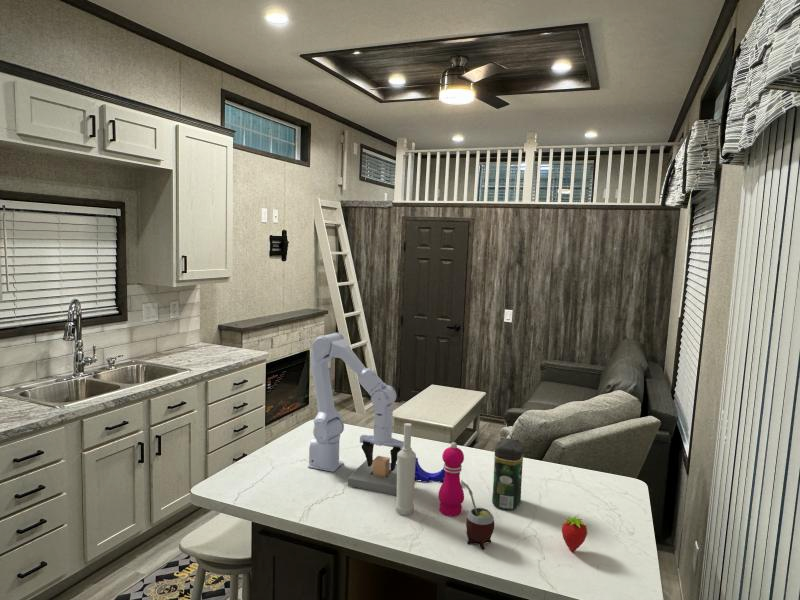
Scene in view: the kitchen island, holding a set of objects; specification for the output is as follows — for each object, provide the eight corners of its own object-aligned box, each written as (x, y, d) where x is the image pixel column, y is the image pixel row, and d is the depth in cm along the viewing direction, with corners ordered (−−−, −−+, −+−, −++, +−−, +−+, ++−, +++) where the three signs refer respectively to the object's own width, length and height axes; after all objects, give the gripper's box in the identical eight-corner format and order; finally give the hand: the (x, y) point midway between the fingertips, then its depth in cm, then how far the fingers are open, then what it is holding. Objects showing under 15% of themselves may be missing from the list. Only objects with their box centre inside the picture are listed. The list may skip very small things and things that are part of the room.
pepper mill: (446, 519, 147) (449, 448, 145) (432, 507, 153) (435, 439, 151) (468, 514, 150) (472, 445, 148) (454, 503, 157) (457, 436, 155)
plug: (372, 481, 169) (373, 460, 168) (377, 476, 173) (377, 455, 172) (384, 484, 168) (385, 462, 167) (388, 478, 171) (389, 457, 171)
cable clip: (409, 480, 171) (410, 462, 171) (412, 475, 176) (413, 457, 175) (446, 486, 169) (447, 467, 168) (449, 480, 173) (449, 462, 172)
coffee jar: (496, 493, 164) (499, 434, 162) (522, 499, 161) (526, 438, 159) (488, 507, 155) (492, 444, 153) (516, 513, 152) (520, 449, 150)
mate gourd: (497, 549, 134) (501, 491, 132) (467, 552, 132) (470, 493, 131) (486, 533, 141) (489, 478, 139) (457, 535, 139) (460, 479, 138)
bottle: (416, 508, 153) (419, 422, 150) (410, 517, 148) (414, 428, 145) (398, 505, 154) (402, 420, 152) (392, 513, 149) (395, 425, 147)
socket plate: (347, 485, 165) (347, 478, 165) (367, 466, 180) (367, 458, 180) (396, 495, 160) (397, 487, 160) (412, 474, 175) (413, 466, 175)
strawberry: (588, 548, 136) (591, 510, 135) (581, 562, 129) (584, 523, 128) (564, 540, 139) (567, 503, 138) (556, 554, 132) (559, 515, 131)
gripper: (356, 426, 167) (355, 468, 168) (400, 433, 162) (399, 476, 164) (365, 419, 174) (363, 460, 175) (408, 425, 169) (406, 467, 170)
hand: (381, 467), depth 170 cm, fingers open, 7 cm apart
